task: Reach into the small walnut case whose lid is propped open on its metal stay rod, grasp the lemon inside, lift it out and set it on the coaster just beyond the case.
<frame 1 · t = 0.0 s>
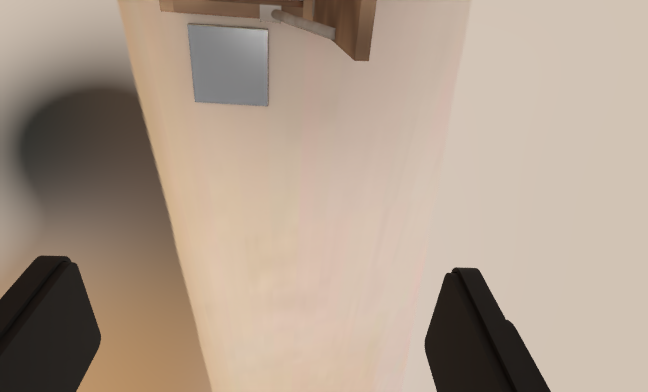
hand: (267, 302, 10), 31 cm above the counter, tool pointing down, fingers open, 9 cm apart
coaster: (230, 66, 37), on the counter
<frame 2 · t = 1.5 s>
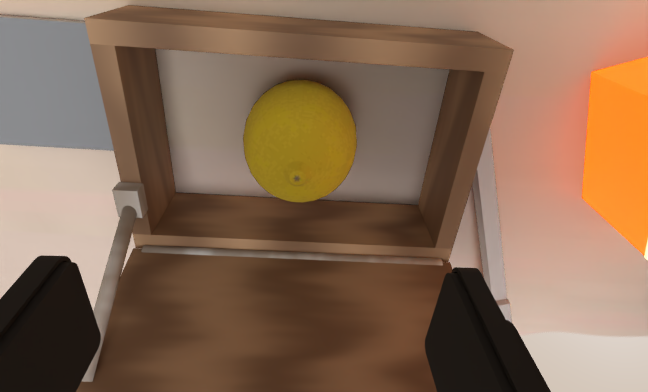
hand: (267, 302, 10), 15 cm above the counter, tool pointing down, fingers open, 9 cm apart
lemon: (302, 110, 23), resting in case
case: (302, 128, 24), on the counter
coaster: (51, 85, 22), on the counter
caliper: (478, 232, 29), on the counter
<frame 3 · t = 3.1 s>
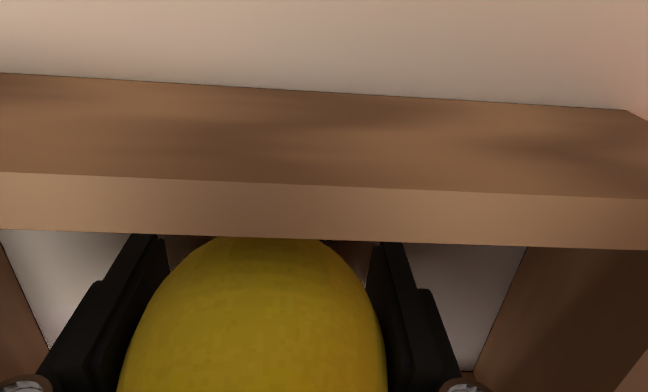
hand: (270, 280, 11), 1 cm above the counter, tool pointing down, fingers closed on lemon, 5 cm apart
lemon: (273, 245, 12), resting in case, touching gripper
case: (273, 274, 13), on the counter
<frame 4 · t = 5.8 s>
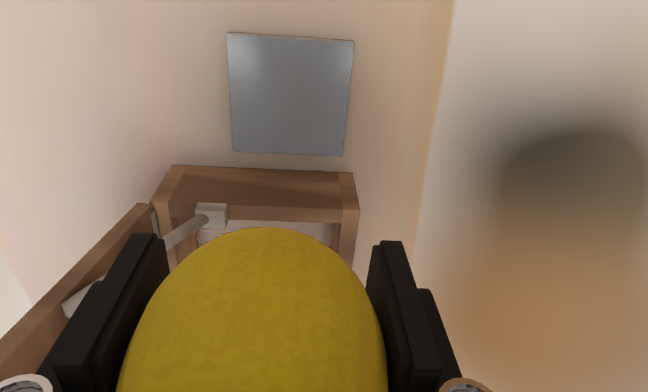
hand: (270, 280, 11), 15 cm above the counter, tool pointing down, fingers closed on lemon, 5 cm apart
lemon: (273, 246, 12), point 14 cm above the counter, touching gripper
case: (264, 269, 31), on the counter
coaster: (289, 97, 24), on the counter
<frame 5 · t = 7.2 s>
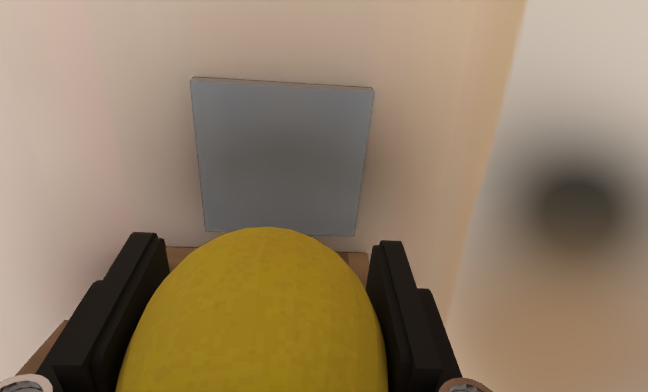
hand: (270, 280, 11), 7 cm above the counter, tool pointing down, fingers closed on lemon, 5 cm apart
lemon: (273, 246, 12), point 6 cm above the counter, touching gripper
case: (252, 362, 25), on the counter
coaster: (282, 162, 17), on the counter
when the fingers open (4 cm above the counter, at t = 8.3 s): lemon drops 2 cm, resting on coaster.
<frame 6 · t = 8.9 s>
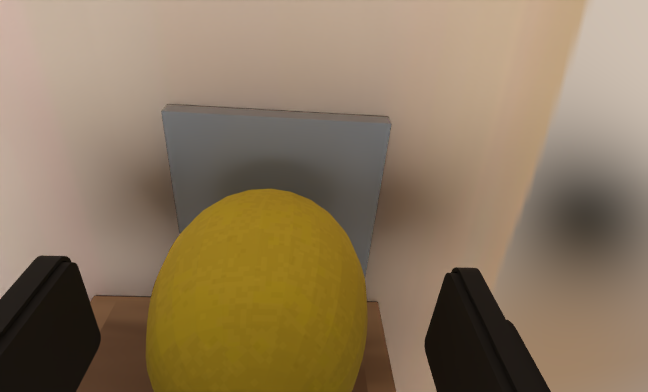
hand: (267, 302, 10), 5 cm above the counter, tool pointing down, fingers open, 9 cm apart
lemon: (274, 212, 14), resting on coaster
coaster: (278, 202, 14), on the counter
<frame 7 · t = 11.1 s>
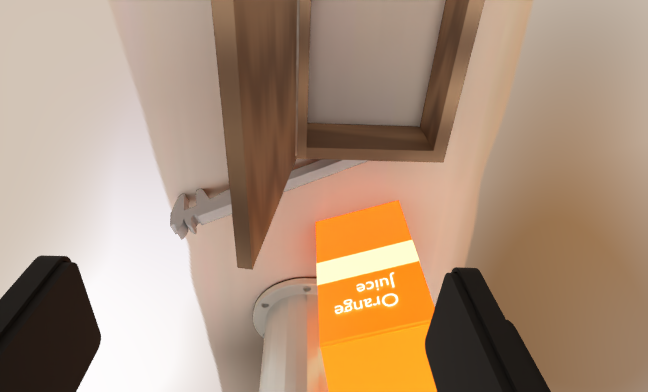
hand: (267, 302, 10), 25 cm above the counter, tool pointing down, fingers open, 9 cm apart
case: (375, 27, 30), on the counter
orange juice: (365, 237, 42), on the counter
caliper: (282, 169, 37), on the counter
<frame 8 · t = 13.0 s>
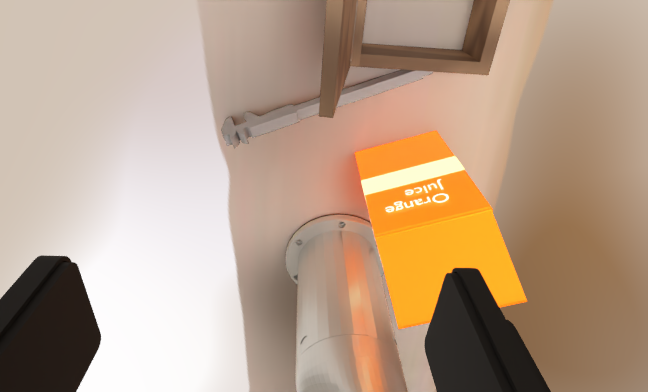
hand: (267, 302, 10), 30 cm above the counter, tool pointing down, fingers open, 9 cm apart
orange juice: (400, 171, 43), on the counter
caliper: (327, 93, 39), on the counter
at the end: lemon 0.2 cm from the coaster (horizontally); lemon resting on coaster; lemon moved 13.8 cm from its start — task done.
